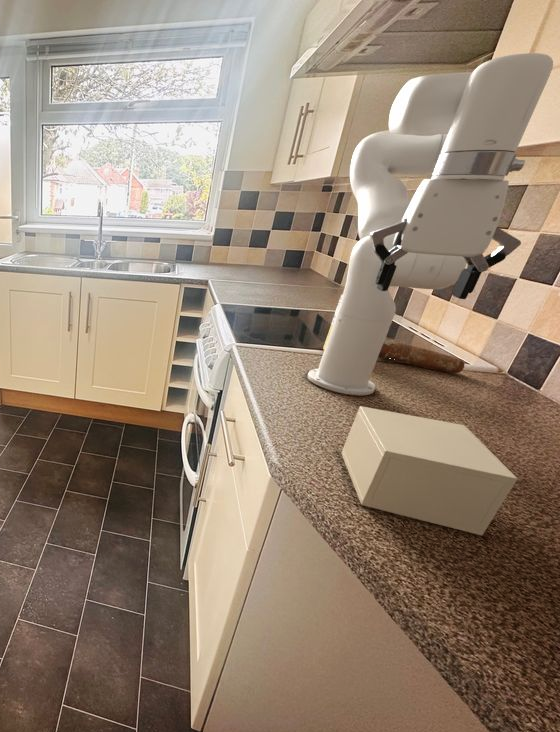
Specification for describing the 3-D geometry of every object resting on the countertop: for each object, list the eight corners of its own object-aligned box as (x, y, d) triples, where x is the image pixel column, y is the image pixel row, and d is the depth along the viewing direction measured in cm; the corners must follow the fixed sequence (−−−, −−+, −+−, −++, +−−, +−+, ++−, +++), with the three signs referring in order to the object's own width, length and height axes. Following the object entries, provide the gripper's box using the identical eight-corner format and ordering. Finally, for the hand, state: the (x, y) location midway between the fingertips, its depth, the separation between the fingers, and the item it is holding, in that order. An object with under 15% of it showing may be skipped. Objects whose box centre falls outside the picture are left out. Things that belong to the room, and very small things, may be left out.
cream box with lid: (341, 453, 67) (359, 405, 63) (438, 474, 62) (464, 425, 59) (361, 505, 55) (385, 450, 52) (482, 535, 51) (518, 478, 47)
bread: (367, 352, 114) (375, 332, 112) (460, 372, 103) (470, 351, 100) (364, 357, 110) (371, 337, 107) (460, 379, 98) (471, 357, 96)
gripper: (537, 172, 57) (478, 295, 64) (386, 169, 63) (348, 283, 70) (573, 168, 51) (504, 306, 58) (402, 166, 57) (358, 291, 64)
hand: (418, 293), depth 64 cm, fingers open, 9 cm apart
